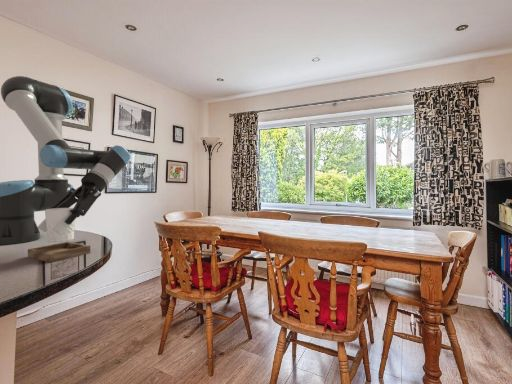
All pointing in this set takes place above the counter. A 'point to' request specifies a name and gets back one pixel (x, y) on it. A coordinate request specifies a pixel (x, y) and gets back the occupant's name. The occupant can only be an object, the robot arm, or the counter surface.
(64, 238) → the white cup
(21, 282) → the counter surface
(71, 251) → the walnut coaster tray
